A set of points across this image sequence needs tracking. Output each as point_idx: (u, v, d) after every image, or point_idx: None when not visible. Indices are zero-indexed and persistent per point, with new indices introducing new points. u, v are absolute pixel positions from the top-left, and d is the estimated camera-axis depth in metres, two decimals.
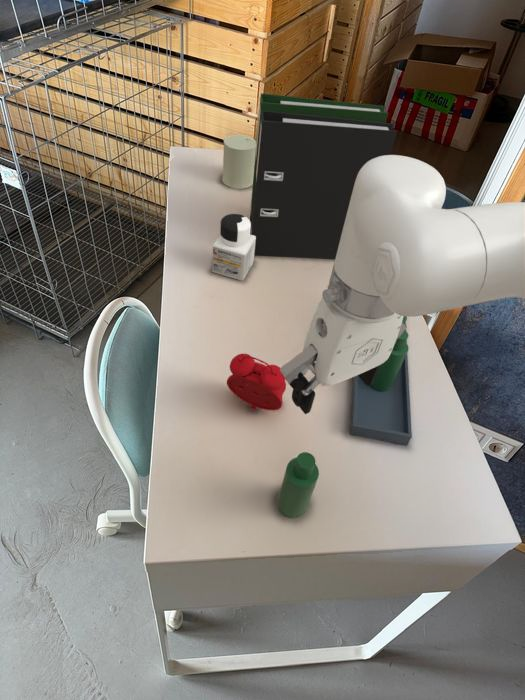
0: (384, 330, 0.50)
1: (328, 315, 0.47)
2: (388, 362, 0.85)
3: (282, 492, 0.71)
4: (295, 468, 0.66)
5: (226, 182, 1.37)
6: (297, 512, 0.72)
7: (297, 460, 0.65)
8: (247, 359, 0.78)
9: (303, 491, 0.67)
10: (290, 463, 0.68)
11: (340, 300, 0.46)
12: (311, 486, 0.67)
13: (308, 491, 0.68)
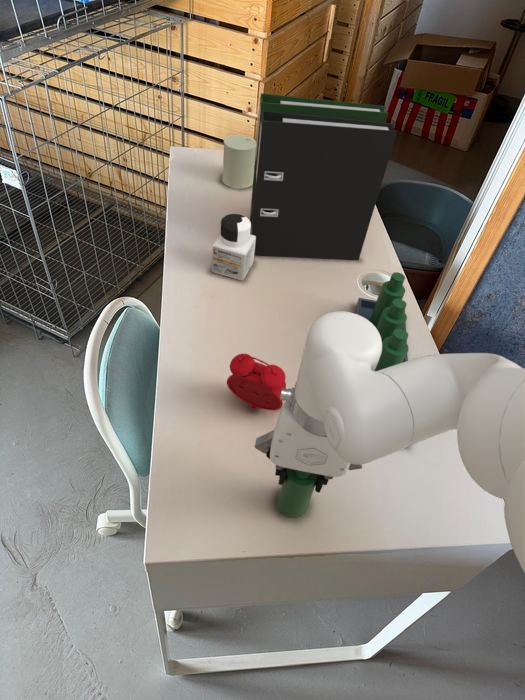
0: (328, 447, 0.57)
1: (283, 409, 0.57)
2: (388, 362, 0.85)
3: (282, 492, 0.71)
4: None
5: (226, 182, 1.37)
6: (297, 512, 0.72)
7: None
8: (247, 359, 0.78)
9: (303, 491, 0.67)
10: None
11: (289, 402, 0.55)
12: (311, 486, 0.67)
13: (308, 491, 0.68)
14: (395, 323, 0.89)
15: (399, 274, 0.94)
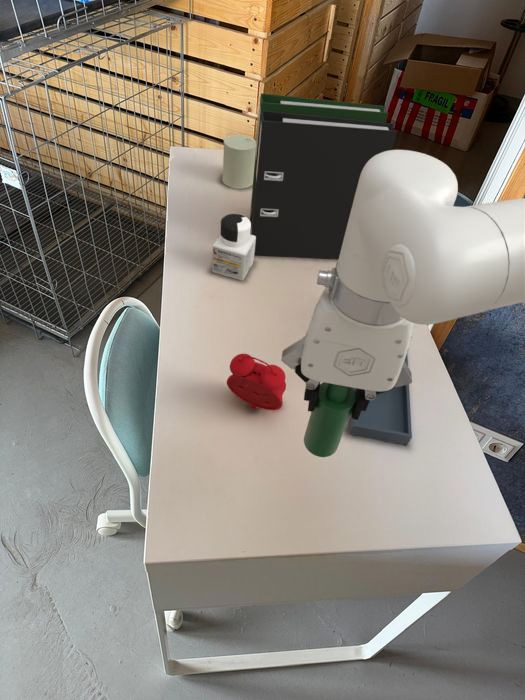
0: (376, 346, 0.46)
1: (319, 300, 0.46)
2: None
3: (311, 424, 0.60)
4: (329, 389, 0.55)
5: (226, 182, 1.37)
6: (328, 449, 0.61)
7: None
8: (247, 359, 0.78)
9: (338, 418, 0.56)
10: (322, 385, 0.57)
11: (329, 286, 0.44)
12: (348, 411, 0.56)
13: (344, 418, 0.57)
14: None
15: None
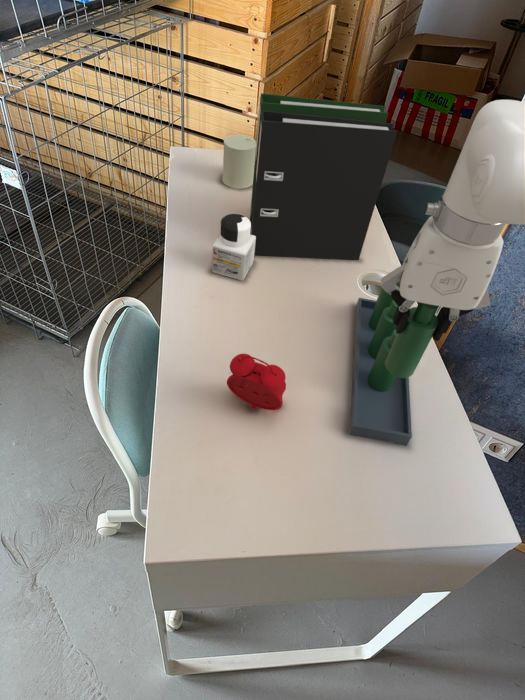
0: (469, 267, 0.57)
1: (424, 229, 0.57)
2: None
3: (396, 346, 0.70)
4: (417, 312, 0.66)
5: (226, 182, 1.37)
6: (409, 369, 0.72)
7: None
8: (247, 359, 0.78)
9: (423, 338, 0.67)
10: None
11: (435, 215, 0.55)
12: (432, 331, 0.66)
13: (428, 339, 0.67)
14: None
15: None
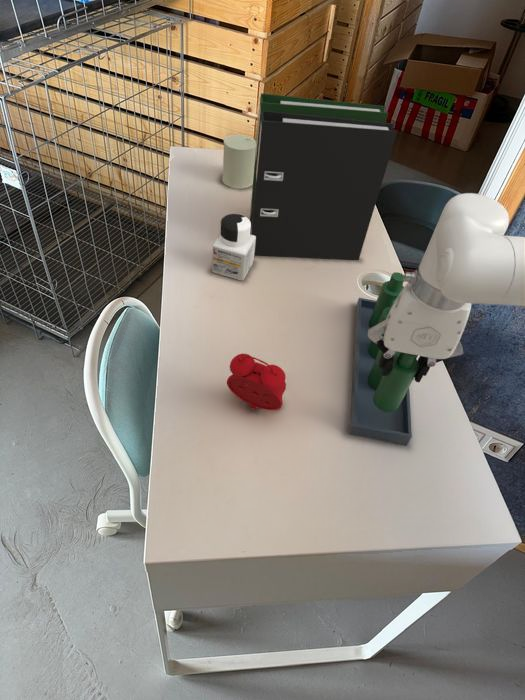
0: (443, 325, 0.66)
1: (403, 292, 0.66)
2: None
3: (382, 385, 0.80)
4: (400, 358, 0.75)
5: (226, 182, 1.37)
6: (394, 405, 0.81)
7: None
8: (247, 359, 0.78)
9: (405, 380, 0.76)
10: (393, 356, 0.77)
11: (412, 283, 0.64)
12: (413, 374, 0.75)
13: (409, 380, 0.76)
14: None
15: (399, 274, 0.94)
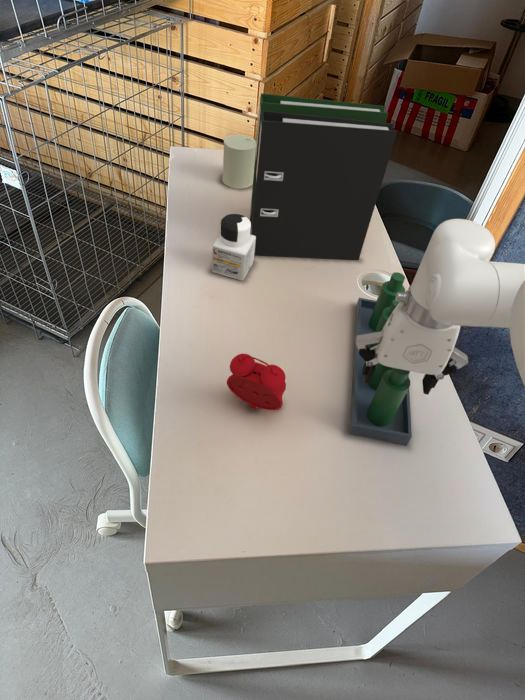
0: (433, 343, 0.68)
1: (395, 311, 0.69)
2: None
3: (375, 401, 0.83)
4: (392, 376, 0.78)
5: (226, 182, 1.37)
6: (386, 420, 0.84)
7: (395, 368, 0.77)
8: (247, 359, 0.78)
9: (397, 397, 0.79)
10: (385, 374, 0.80)
11: (404, 302, 0.67)
12: (405, 391, 0.79)
13: (401, 397, 0.80)
14: None
15: (399, 274, 0.94)
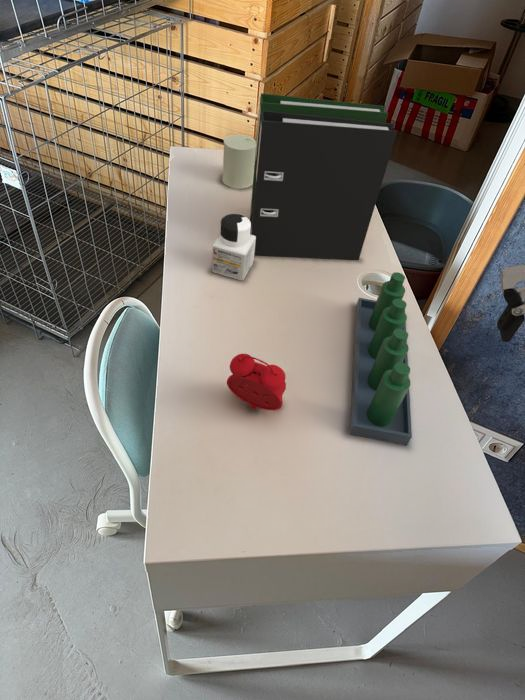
0: None
1: None
2: (388, 362, 0.85)
3: (375, 401, 0.83)
4: (392, 376, 0.78)
5: (226, 182, 1.37)
6: (386, 420, 0.84)
7: (395, 368, 0.77)
8: (247, 359, 0.78)
9: (397, 397, 0.79)
10: (385, 374, 0.80)
11: None
12: (405, 391, 0.79)
13: (401, 397, 0.80)
14: (395, 323, 0.89)
15: (399, 274, 0.94)
